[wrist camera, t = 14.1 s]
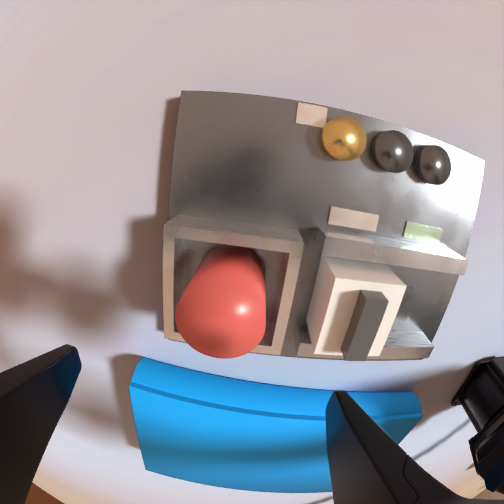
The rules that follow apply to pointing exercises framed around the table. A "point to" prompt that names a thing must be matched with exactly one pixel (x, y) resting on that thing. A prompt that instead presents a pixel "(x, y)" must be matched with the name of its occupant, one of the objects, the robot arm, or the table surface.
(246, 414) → the book
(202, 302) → the cap
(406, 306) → the panel
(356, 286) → the breaker
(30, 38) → the table surface
